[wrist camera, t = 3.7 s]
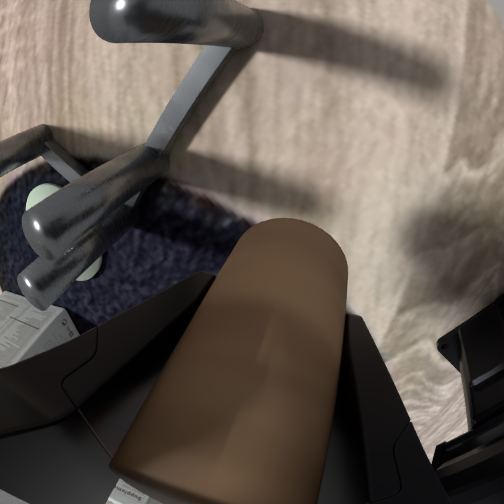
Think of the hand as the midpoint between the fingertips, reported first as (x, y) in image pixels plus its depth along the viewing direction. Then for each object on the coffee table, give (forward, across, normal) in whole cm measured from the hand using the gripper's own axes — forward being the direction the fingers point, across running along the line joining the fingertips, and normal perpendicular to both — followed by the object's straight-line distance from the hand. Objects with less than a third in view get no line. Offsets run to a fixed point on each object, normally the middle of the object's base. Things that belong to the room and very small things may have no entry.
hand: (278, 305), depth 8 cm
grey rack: (+8, +11, -4) cm, 14 cm away
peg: (+2, 0, 0) cm, 2 cm away
